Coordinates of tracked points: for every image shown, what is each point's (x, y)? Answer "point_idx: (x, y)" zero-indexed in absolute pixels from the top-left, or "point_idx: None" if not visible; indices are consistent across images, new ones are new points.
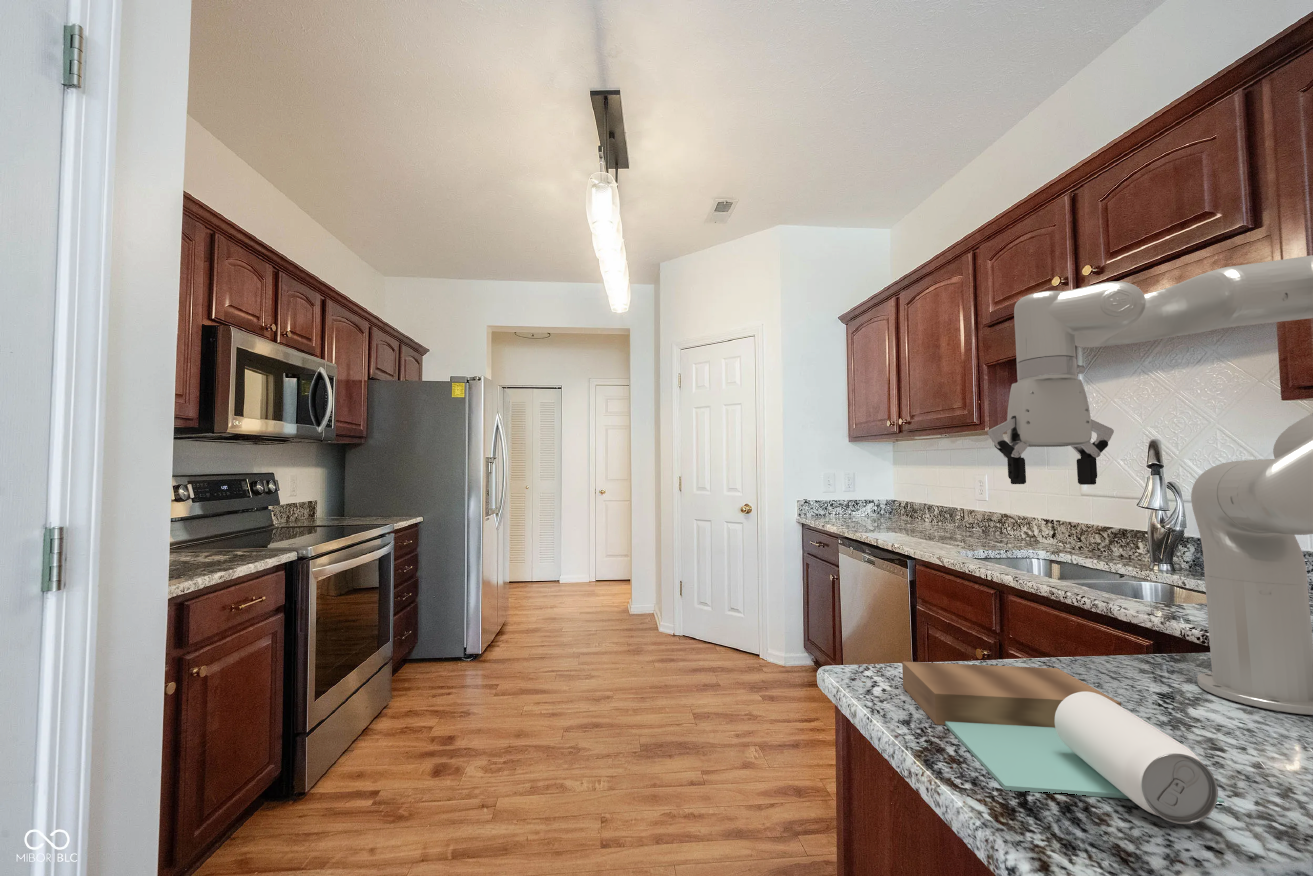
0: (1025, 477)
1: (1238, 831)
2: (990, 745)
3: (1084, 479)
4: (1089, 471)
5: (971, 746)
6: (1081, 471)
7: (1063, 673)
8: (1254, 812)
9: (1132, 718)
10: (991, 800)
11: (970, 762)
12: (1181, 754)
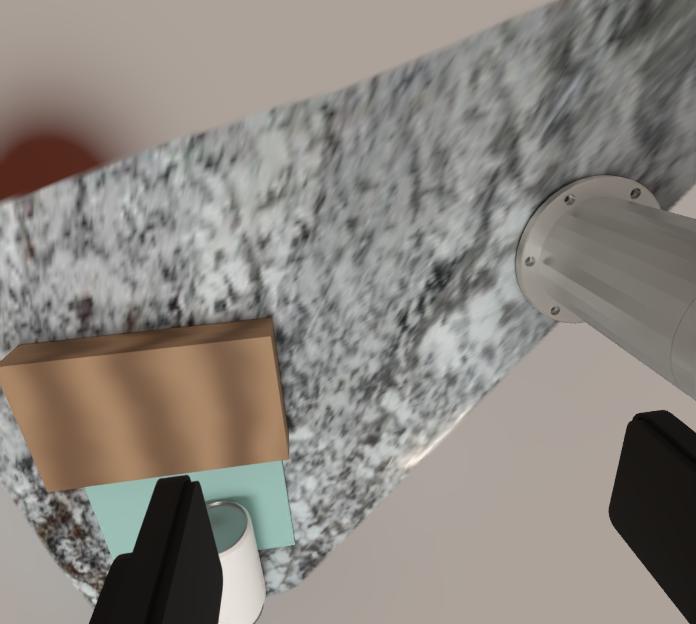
0: (215, 618)
1: (279, 569)
2: (120, 508)
3: (634, 497)
4: (664, 587)
5: (98, 515)
6: (686, 523)
7: (268, 361)
8: (311, 543)
9: (225, 606)
10: (103, 582)
11: (95, 532)
12: None
